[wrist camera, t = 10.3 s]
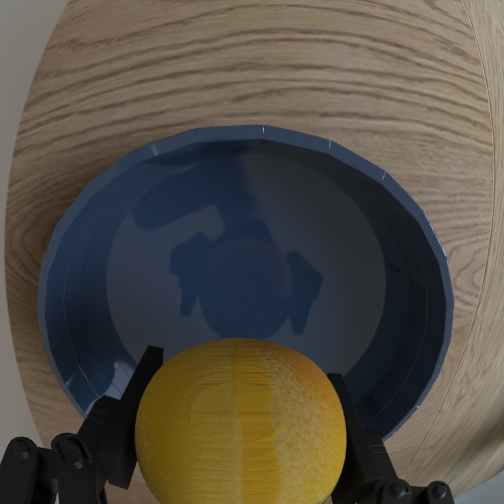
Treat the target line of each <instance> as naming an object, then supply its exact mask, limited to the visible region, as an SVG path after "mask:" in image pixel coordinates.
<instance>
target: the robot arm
mask: <svg viewBox="0 0 504 504" xmlns="http://www.w3.org/2000/svg"><path fill="white" fill-rule="evenodd" d="M163 352H164V348H161V347H156V346H152V345H148V347H147V349H146V350H145V352H144V354H143V356H142V358H141V360H140V362H139V364H138V366H137V367H136V369H135V371H134V373H133V375H132V377H131V379H130V381H129V383H128V385H127V387H126V389H125V391H124V393H123V395H122V397H121V399H120V400H119V399H116V398H113V397H110V396H107V395H103V396H102V397H101V398H99V399H98V400H96V401H95V403H94V405H93V407H92V408H91V411H90V412H89V413H88V415H87V418H86V419H85V421H84V422H83V424H82V426H81V428H80V429H79V431H78V433H77V435H76V434H72V433H61V434H59V435H57V436H56V437H55V438H54V439H53V440H52V442H51V448H52V450H51V449H46V448H41V447H37V446H36V444H35V443H34V442H33V441H32V440H30V439H29V438H26V437H16V438H14V439H12V440H11V441H10V443H9V444H8V446H7V449H6V451H5V454H4V456H3V459H2V461H1V464H0V504H55V500H56V496H57V493H58V494H59V504H108V502H107V497H106V491H105V488H104V485H105V483H106V480H108V482H109V484H112V485H114V486H117V487H120V488H123V489H127V490H128V487H129V484H130V481H131V478H132V475H133V472H134V469H135V466H136V463H137V455H136V448H135V424H136V417H137V412H138V408H139V405H140V401H141V399H142V396H143V394H144V391H145V389H146V387H147V385H148V384H149V382H150V381H151V379H152V378H153V376H154V375H155V373H156V372H157V371H158V370H159V369H160V368H161V367H162V366H163ZM327 377H328V379H329V380H330V382H331V383H332V385H333V387H334V389H335V391H336V393H337V395H338V398H339V400H340V403H341V406H342V410H343V414H344V419H345V426H346V453H345V460H344V464H343V468H342V471H341V474H340V477H339V480H338V482H337V484H336V486H335V488H334V490H333V492H332V493H331V498H332V502H333V504H355V503H356V502H357V504H454V500H453V497H452V493H451V490H450V488H449V486H448V485H447V484H446V483H445V482H442V481H434V482H431V483H430V484H429V485H428V486H427V487H416V486H409V484H408V483H407V482H406V481H404V480H402V479H399V478H398V477H397V475H396V473H395V470H394V468H393V465H392V463H391V460H390V458H389V456H388V453H386V452H387V451H386V448H385V446H384V444H383V441H382V439H381V437H380V435H379V434H378V433H377V432H376V431H375V430H374V429H364V428H363V426H362V423H361V421H360V418H359V416H358V413H357V411H356V408H355V406H354V403H353V401H352V398H351V396H350V393H349V391H348V388H347V386H346V383H345V381H344V379H343V376H342V374H340V373H328V374H327Z"/></svg>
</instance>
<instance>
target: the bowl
mask: <svg viewBox="0 0 504 504" xmlns="http://www.w3.org/2000/svg"><path fill="white" fill-rule="evenodd" d="M453 311H454V294H453V287H452V281H451V276H450V271H449V265H448V261H447V257H446V254H445V252H444V250H443V248H442V245H441V243H440V241H439V239H438V237H437V235H436V233H435V231H434V229H433V227H432V225H431V223H430V222H429V220H428V218H427V216H426V214H425V213H424V211H423V210H422V209H421V208H420V206H419V205H418V204H417V203H416V202H415V201H414V200H413V199H412V198H411V197H410V196H409V194H408V193H407V192H406V191H405V190H404V189H403V188H402V187H401V186H400V185H399V184H398V183H397V182H396V181H395V180H394V179H393V178H392V177H391V176H390V175H389V174H388V173H387V172H386V171H384V170H383V169H381V168H380V167H378V166H376V165H375V164H373V163H371V162H370V161H368V160H366V159H364V158H363V157H361V156H359V155H357V154H356V153H354V152H352V151H350V150H349V149H347V148H345V147H343V146H341V145H339V144H337V143H336V142H334V141H331V140H328V139H325V138H321V137H317V136H313V135H309V134H305V133H301V132H296V131H292V130H288V129H283V128H278V127H274V126H269V125H238V126H220V127H206V128H196V129H195V130H194V129H191V130H188V131H185V132H182V133H179V134H176V135H173V136H171V137H168V138H165V139H162V140H159V141H157V142H154V143H151V144H148V145H146V146H143V147H141V148H138V149H136V150H134V151H131V152H130V153H128V154H127V155H126V156H124V157H123V158H121V159H120V160H119V161H117V162H116V163H114V164H113V165H112V166H110V167H109V168H108V169H106V170H105V171H104V172H102V173H101V174H100V175H98V176H97V177H96V178H94V179H93V180H92V181H91V182H89V183H88V184H87V185H86V186H85V187H84V188H83V190H82V191H81V192H80V193H79V195H78V196H77V197H76V199H75V200H74V201H73V203H72V204H71V205H70V207H69V208H68V209H67V211H66V212H65V214H64V215H63V216H62V218H61V219H60V221H59V222H58V224H57V225H56V227H55V229H54V232H53V234H52V237H51V239H50V242H49V245H48V247H47V250H46V253H45V256H44V259H43V262H42V265H41V268H40V273H39V284H38V299H37V314H38V321H39V326H40V332H41V337H42V342H43V347H44V351H45V353H46V356H47V358H48V361H49V363H50V365H51V368H52V370H53V372H54V375H55V377H56V379H57V381H58V383H59V385H60V386H61V388H62V389H63V391H64V392H65V394H66V395H67V397H68V398H69V400H70V401H71V403H72V404H73V405H74V407H75V408H76V409H77V411H78V412H79V413H80V415H81V416H82V417H83V418H84V419H86V418H87V415H88V413H89V412H90V411H91V408H92V407H93V405H94V403H95V401H96V400H98V399H99V398H101V397H102V396H103V395H107V396H110V397H113V398H116V399H119V400H120V399H121V397H122V395H123V393H124V391H125V389H126V387H127V385H128V383H129V381H130V379H131V377H132V375H133V373H134V371H135V369H136V367H137V366H138V364H139V362H140V360H141V358H142V356H143V354H144V352H145V350H146V349H147V347H148V345H152V346H156V347H161V348H164V352H163V365H164V364H165V363H166V362H167V361H168V360H170V359H171V358H172V357H174V356H175V355H177V354H179V353H180V352H182V351H184V350H186V349H189V348H191V347H194V346H197V345H200V344H203V343H206V342H211V341H215V340H221V339H227V338H252V339H259V340H265V341H269V342H274V343H277V344H280V345H283V346H286V347H288V348H291V349H293V350H295V351H297V352H299V353H301V354H303V355H304V356H306V357H307V358H309V359H310V360H311V361H313V362H314V363H315V364H316V365H317V366H318V367H319V368H320V369H321V370H322V371H323V372H324V373H325V375H326V376H327V374H328V373H340V374H342V376H343V379H344V381H345V383H346V386H347V388H348V391H349V393H350V396H351V398H352V401H353V403H354V406H355V408H356V411H357V413H358V416H359V418H360V421H361V423H362V426H363V428H364V429H374V430H375V431H376V432H377V433H378V434H379V435H380V437H381V439H382V441H383V442H384V441H386V440H387V439H388V438H390V437H391V436H392V435H393V434H395V433H396V432H397V431H398V430H399V429H400V428H401V427H402V425H403V424H404V423H405V422H406V421H407V420H408V419H409V418H410V417H411V416H412V415H413V413H414V412H415V411H416V410H417V409H418V408H419V406H420V405H421V404H422V402H423V401H424V399H425V397H426V396H427V394H428V392H429V391H430V389H431V388H432V386H433V384H434V382H435V381H436V379H437V377H438V375H439V373H440V370H441V367H442V365H443V362H444V359H445V356H446V353H447V350H448V347H449V344H450V340H451V333H452V323H453Z"/></svg>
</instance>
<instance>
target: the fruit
mask: <svg viewBox="0 0 504 504" xmlns="http://www.w3.org/2000/svg"><path fill="white" fill-rule="evenodd" d="M135 448H136V455H137V460H138V464H139V467H140V470H141V473H142V475H143V477H144V480H145V482H146V484H147V486H148V487H149V489H150V491H151V492H152V494H153V495H154V497H155V498H156V499H157V500H158V501H159V503H160V504H324V503H325V502H326V500H327V499H328V498H329V496H330V495H331V493H332V492H333V490H334V488H335V486H336V484H337V482H338V480H339V477H340V474H341V471H342V468H343V464H344V460H345V453H346V426H345V419H344V414H343V410H342V406H341V403H340V400H339V398H338V395H337V393H336V391H335V389H334V387H333V385H332V383H331V382H330V380H329V379H328V377H327V376H326V375H325V373H324V372H323V371H322V370H321V369H320V368H319V367H318V366H317V365H316V364H315V363H314V362H313V361H311V360H310V359H309V358H307V357H306V356H304V355H303V354H301V353H299V352H297V351H295V350H293V349H291V348H288V347H286V346H283V345H280V344H277V343H274V342H269V341H265V340H259V339H252V338H227V339H221V340H215V341H211V342H206V343H203V344H200V345H197V346H194V347H191V348H189V349H186V350H184V351H182V352H180V353H179V354H177V355H175V356H174V357H172V358H171V359H170V360H168V361H167V362H166V363H165V364H164V365H163V366H162V367H161V368H160V369H159V370H158V371H157V372H156V373H155V375H154V376H153V378H152V379H151V381H150V382H149V384H148V385H147V387H146V389H145V391H144V394H143V396H142V399H141V401H140V405H139V408H138V412H137V417H136V424H135Z"/></svg>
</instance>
